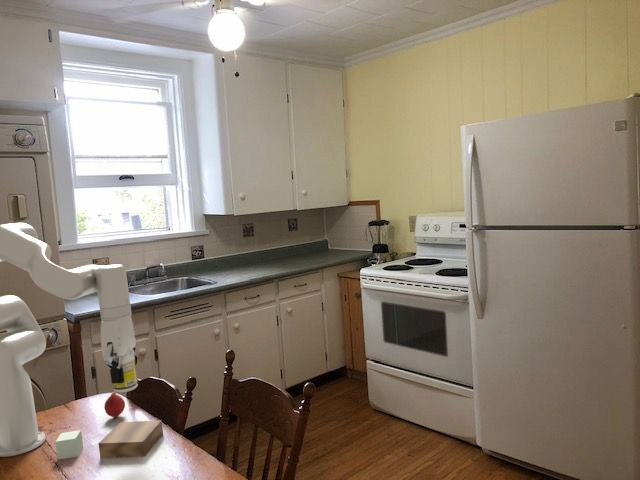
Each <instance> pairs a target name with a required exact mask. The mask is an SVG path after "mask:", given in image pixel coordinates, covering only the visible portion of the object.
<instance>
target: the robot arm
mask: <svg viewBox="0 0 640 480" xmlns="http://www.w3.org/2000/svg"><path fill="white" fill-rule="evenodd" d="M51 257H52V249H51V247H50V245H49V244H48V243H45V242H43V241H41V240H39V235H38V232H37V231H36V229H35V228H34V227H33V226H31V225H30V224H27V223H25V222H13V223H11V222H10V223H3V224H0V263H2V262H7V263H9V264H11V265H14V266H16V267H18V268H19V269H21V270H24V271H25V272H28V274H29V276H30V278H31V280H32V281H33V282H34V283H35V284H36V286H37V287H38V288H40V289H41V290H43V291H45V292H47V293H49V294H51V295H53V296H55V297H58V298H61V299H63V300H69V301H70V300H71V301H72V300H77V299H80V298H82V297H85V296H88V295H91V294H94V293H97V297H98V299H97V300H98V306H99V307H98V308H99V313H100V320H101V321H100V346H101V355H102V358H103V362H104V363H105V364H106V366H107V367H108V369H109V373H110V379H111V384H112V385H113V384H115V383H123V382H124V375H123V367H121V357H122V356H123V355H125V354H126V351H127V349H128V348H129V347H130V350H131V352H130V354H132V355H133V356H134V358H135V359H136V353H135V352H136V345H137V339H136V334H135V333H136V332H135V329H134V322H133V319H132V318H133V317H132V315H133V314H132V306H131V299H130V298H131V297H130V291H129V283H128V276H127V275H128V274H127V269H126V266H124V265H123V264H119V263H118V264H117V263H116V264H115V263H114V264H107V265H99V264H98V265H97V264H86V265H82V266H79V267H76V268H72V269H71V268H70V269H66V268H64V267H62V266H59V265H57V264H55V263H53V262H52V261H50V259H51ZM4 331H6V332H7V333H5V334H3V335H1V336H0V457H3V458H5V457H15V456H18V455H23V454H25V453H28V452H30V451H33V450H34V449H36V448H38V447H39V446H41V445H43V443H45V441H46V434H45V432H43V431H39V427H38V421H37V413H36V407H35V400H34V399H35V398H34V393H33V387H32V380H31V377H30V375H29V374H28V372H27V371H26V370H25V368H24V366H23V365H25V364H26V363H29V362H31V361H32V360H34V359H36V358H38V357H39V356H41V355H42V354H43V353H44V352H45V350H46V347H47V339H46V336H45V333H44V332H43V330H42V329H41V326H40V325H39V323H38V321H37V320H36V318H35V316H34V315H33V313H32V312H31V310H30V308H29V307H28V305H27V304H26V302H25V301H24V300H23V299H21V298H20V297H19V296H16V295H12V294H7V295H1V296H0V333H1V332H4ZM113 354H117V356H113ZM113 359H117V363H116V362H115V361H113ZM135 365H137V364H136V363H135Z"/></svg>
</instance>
